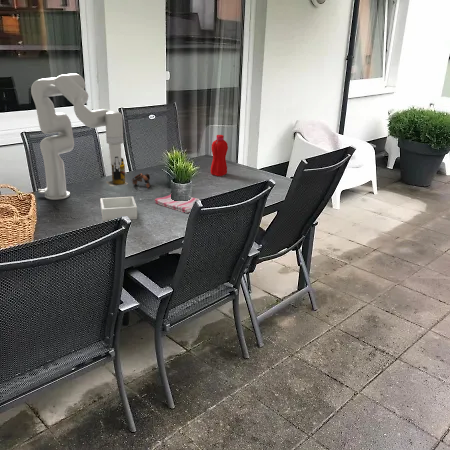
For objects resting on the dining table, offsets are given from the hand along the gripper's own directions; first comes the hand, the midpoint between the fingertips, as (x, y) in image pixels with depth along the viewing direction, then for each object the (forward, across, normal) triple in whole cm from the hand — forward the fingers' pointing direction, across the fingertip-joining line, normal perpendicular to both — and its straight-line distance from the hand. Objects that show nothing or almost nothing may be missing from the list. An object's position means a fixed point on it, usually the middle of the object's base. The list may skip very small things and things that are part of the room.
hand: (116, 176), depth 222 cm
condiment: (+3, 0, 0) cm, 3 cm away
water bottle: (+19, -55, +66) cm, 88 cm away
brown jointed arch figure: (+19, -42, +17) cm, 49 cm away
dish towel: (+20, -8, +33) cm, 39 cm away
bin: (+19, 0, 0) cm, 19 cm away
